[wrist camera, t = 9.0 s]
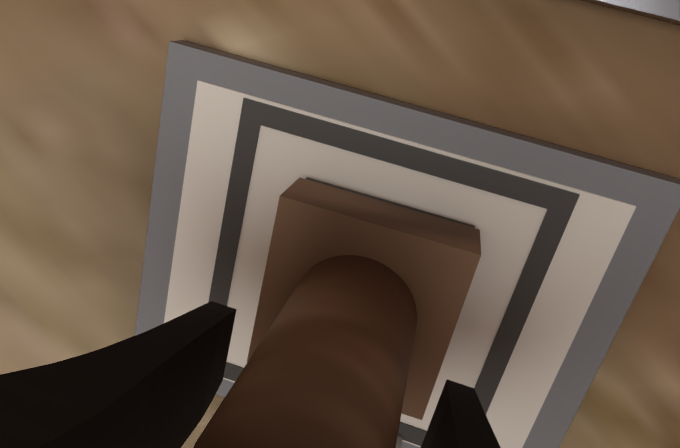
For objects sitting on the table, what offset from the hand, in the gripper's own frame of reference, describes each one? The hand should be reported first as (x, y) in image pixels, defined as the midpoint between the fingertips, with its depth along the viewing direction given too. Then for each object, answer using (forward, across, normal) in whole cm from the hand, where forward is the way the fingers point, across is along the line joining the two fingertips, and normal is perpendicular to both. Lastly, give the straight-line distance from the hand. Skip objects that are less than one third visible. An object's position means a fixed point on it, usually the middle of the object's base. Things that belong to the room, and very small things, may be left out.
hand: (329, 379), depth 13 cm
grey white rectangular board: (+5, 0, 0) cm, 5 cm away
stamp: (+4, 0, 0) cm, 4 cm away
